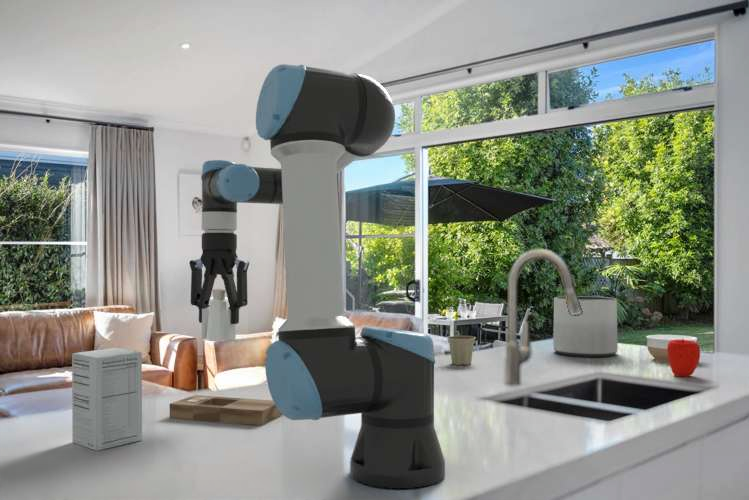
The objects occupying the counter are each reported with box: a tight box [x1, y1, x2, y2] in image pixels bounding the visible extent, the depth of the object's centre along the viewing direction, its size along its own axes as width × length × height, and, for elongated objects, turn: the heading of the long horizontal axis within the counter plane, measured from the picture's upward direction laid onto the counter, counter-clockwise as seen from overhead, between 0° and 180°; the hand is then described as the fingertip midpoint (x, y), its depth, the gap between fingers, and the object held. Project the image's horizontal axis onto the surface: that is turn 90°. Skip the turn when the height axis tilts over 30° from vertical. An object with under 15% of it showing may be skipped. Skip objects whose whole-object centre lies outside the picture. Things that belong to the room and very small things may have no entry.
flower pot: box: [446, 335, 477, 366], centre depth 224 cm, size 9×9×9 cm
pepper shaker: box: [205, 288, 229, 342], centre depth 151 cm, size 5×5×11 cm
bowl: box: [645, 334, 698, 363], centre depth 233 cm, size 16×16×8 cm
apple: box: [667, 339, 701, 378], centre depth 203 cm, size 9×9×11 cm
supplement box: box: [71, 347, 143, 452], centre depth 130 cm, size 10×9×17 cm
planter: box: [552, 295, 618, 358], centre depth 249 cm, size 22×22×20 cm
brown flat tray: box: [169, 394, 283, 426], centre depth 150 cm, size 10×22×3 cm, turn 72°
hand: (218, 338), depth 151 cm, fingers closed on pepper shaker, 5 cm apart
